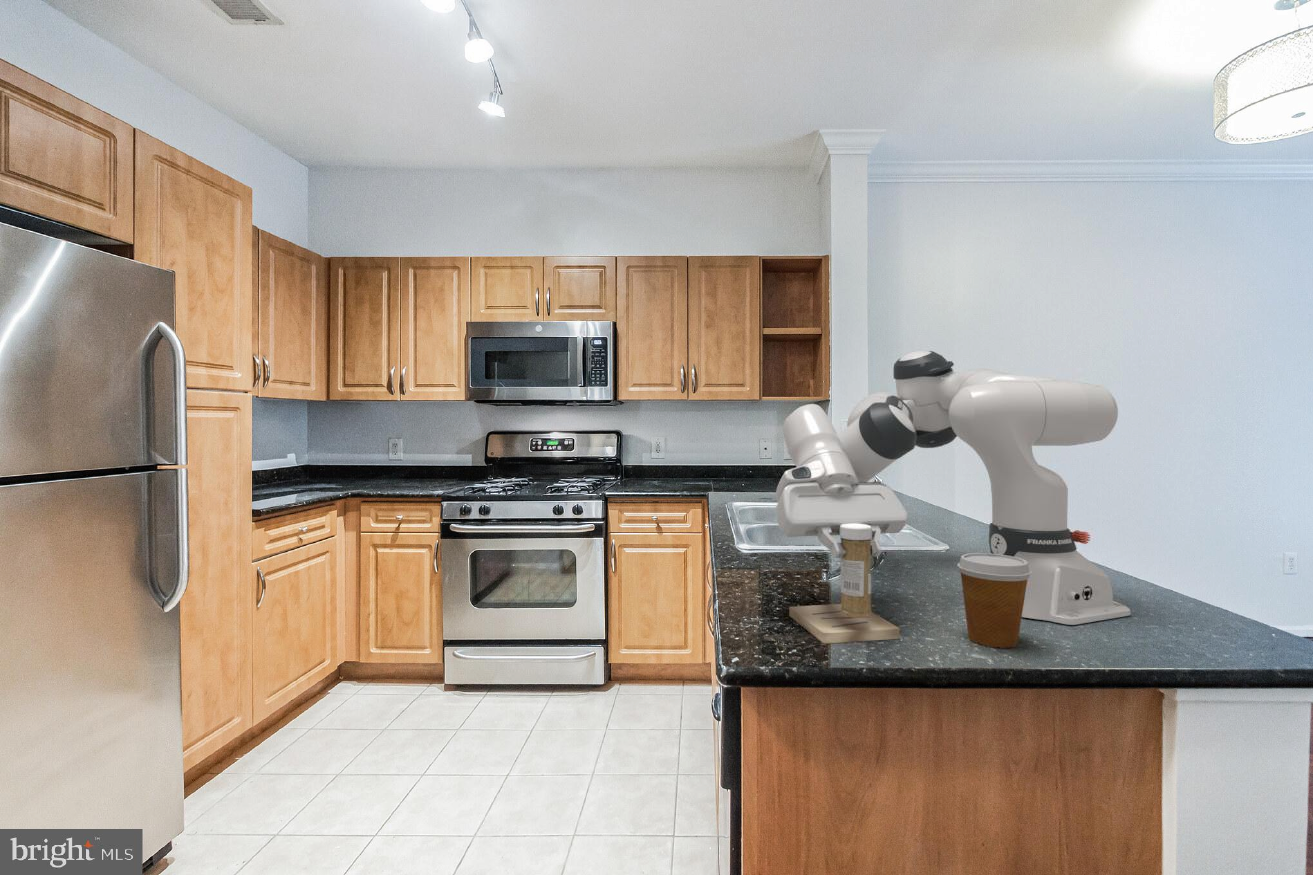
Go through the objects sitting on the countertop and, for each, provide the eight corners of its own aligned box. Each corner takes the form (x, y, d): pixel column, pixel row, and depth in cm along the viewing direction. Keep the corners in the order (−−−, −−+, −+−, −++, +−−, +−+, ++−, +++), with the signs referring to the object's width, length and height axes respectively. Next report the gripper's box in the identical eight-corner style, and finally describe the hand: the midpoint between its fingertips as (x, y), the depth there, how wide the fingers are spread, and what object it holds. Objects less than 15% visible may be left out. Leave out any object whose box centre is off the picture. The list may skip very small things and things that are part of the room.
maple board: (856, 611, 104) (856, 602, 104) (899, 638, 91) (899, 628, 91) (789, 615, 102) (789, 606, 102) (823, 643, 89) (823, 633, 89)
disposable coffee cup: (945, 629, 95) (946, 552, 95) (1009, 630, 95) (1010, 552, 94) (974, 651, 86) (975, 566, 85) (1044, 653, 85) (1046, 567, 85)
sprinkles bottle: (878, 615, 91) (878, 525, 91) (858, 621, 89) (858, 528, 89) (852, 608, 95) (852, 521, 95) (833, 613, 93) (833, 524, 92)
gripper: (880, 493, 105) (913, 563, 95) (765, 496, 101) (787, 569, 92) (894, 469, 100) (930, 540, 91) (775, 471, 97) (799, 545, 87)
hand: (857, 555), depth 91 cm, fingers closed on sprinkles bottle, 4 cm apart
